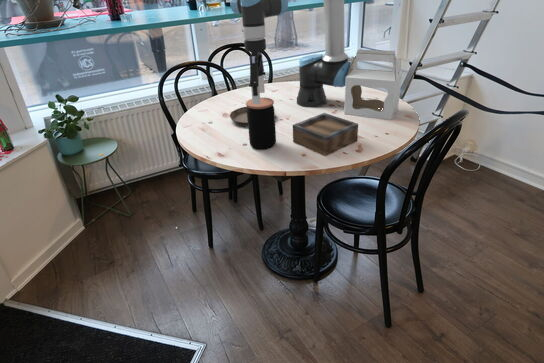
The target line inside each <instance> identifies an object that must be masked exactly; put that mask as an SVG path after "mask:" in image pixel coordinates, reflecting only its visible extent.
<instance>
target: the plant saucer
mask: <svg viewBox="0 0 544 363" xmlns="http://www.w3.org/2000/svg"><path fill="white" fill-rule="evenodd" d="M229 118H230V120H231V121H233V122H234V123H235V124H236V125H239V126H244V127H248V120H247V106H242V107H239V108H237V109H235V110H233V111H231V112H230V114H229Z"/></svg>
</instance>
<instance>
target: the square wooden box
mask: <svg viewBox="0 0 544 363" xmlns="http://www.w3.org/2000/svg"><path fill="white" fill-rule="evenodd" d="M358 134H359V122H358V123H357V122H354V121H350V120H348V119H345V118H341V117H338V116H335V115H332V114H330V113H326V112H323V113H319V114H318V115H315V116H313V117H312V116H311V117H310V118H307V119H304V120H302V121H299V122H296V123H294V124H292V142H293V143H294V144H296V145H298V146H301V147H303V148H304V149H305V148H306V149H308V150H310V151H313V152H314V153H317V154H319V155H321V156H325V157H327V156H329V155H331V154H334V153H336V152H338V151H339V150H342V149H344V148H347V147H348V146H350V145H353V144H355V143H357V142H358V137H359V136H358Z"/></svg>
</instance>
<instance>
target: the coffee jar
mask: <svg viewBox="0 0 544 363" xmlns="http://www.w3.org/2000/svg"><path fill="white" fill-rule="evenodd" d="M274 103H275V101H274V100H273V99H272V98H270V97H260V104H253V101H252V98H251V99H248V100H247V101H245V105H246V106H245V107H247V120H248V126H247V127H248V130H247V131H248V139H249V145H250V147H251V148H252V149H254V150H257V151H265V150H270V149H272V148H273V147H274V146H275V145H276V143H277V131H276V117H275V115H276V114H275V106H274Z"/></svg>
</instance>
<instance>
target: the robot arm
mask: <svg viewBox="0 0 544 363" xmlns="http://www.w3.org/2000/svg"><path fill="white" fill-rule="evenodd" d="M229 3H230V4H229V5H230V8H231V11H232V12H233V14H235V15H240V16H241V19H242V21H241V22H242V26H243V27H242V29H241V32H243V38H244V41H243V45H244V50H245V51H246V52H248V53H250V54H251V55H250V56H249V78H250V79H249V82H250V83H249V84H248V87H249V88H251V99H252V101H253V104H260V98H261V94H265V93H266V92H265V78H264V76H266V72H265V68H264V60H263V54H262V52H263V51H265V50H267V42H266V39H265V38H266V24H265V19H267V18H273V17H279V16H282V15H284V14H285V13H286V12H287V11H288V8H289V0H230V2H229ZM323 17H324V18H323V21H324V48H325V50H324V51H325V54H324V55H323V54H322V53H321V54H320V53H317V54H310V55H305V56H302V57H301V58H299V65H298V69H299V70H298V71H299V72H298V74H299V75H298V76H299V90H298V93H297V97H296V105H298V106H301V107H306V108H315V107H320V106H324V105H326V103H327V96H326V92H325V88H324V86H330V87H335V88H343V87H344V88H345V83H346V76H347V73H348V71H349V69H350V63H351V61H349V55H348V54H347V53H346V52H345V51H346V50H345V0H323Z"/></svg>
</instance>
